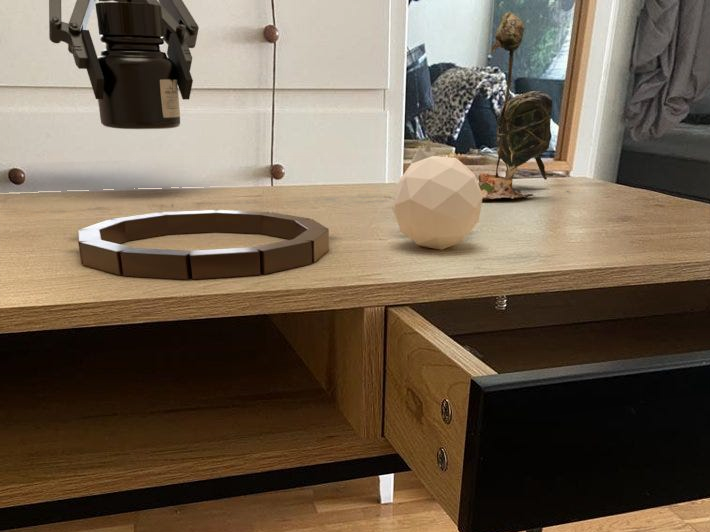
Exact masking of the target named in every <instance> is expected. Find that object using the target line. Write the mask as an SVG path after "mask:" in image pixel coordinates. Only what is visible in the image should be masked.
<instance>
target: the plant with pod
mask: <svg viewBox="0 0 710 532" xmlns="http://www.w3.org/2000/svg"><path fill="white" fill-rule="evenodd" d="M525 27H526V26H525V24H524V23H523V21H522V20H521V18H520V17H519V16H517V15H515V14H514V13H513V12H512V11H508V12H505V13H504V14H503V15H502V17H501V21H500V23H499V25H498V26H497V29H496V31H495V34H494V39H495V40H496V41H495V43H494V44H493V47H492V48H491V52H492V53H494V52H496V51H497V49H498V48H501V49H503V50H504V51H506V52H509V53H508V55H509V57H508V70H507V71H508V73H507V82H506V90H505V98H504V102H503V105H502V106H501V108H500V110H499V116H498V118H497V119H496V120H497V127H496V128H497V132H496V137H497V138H496V144H497V148H496V155H497V157H498V158H497V162H496V169H495V174H490V173H484V172H480V174H479V175H478V184H479V187H480V190H481V192H482V195H483V198H482V199H488V200H489V199H490V200H494V199H501V198H507V199H509V198H510V199H511V200H514V199H521V198H528V197H532V196H534V194H533V193H524V194H523V193H519V192H517V191H516V190H515V189H513V178H514V176H515V173H516V171H517V169H518V167H520V166H522V165H523V164H526V163H527V162H528V161H530V160H532V159H535V162H536V165H537V167H538V170H539V172H540V173H541V176H542V178H543V179H544V180H545V181H547V180H548V176H547V172H546V170H545V168H546V166H545V164H544V161H543V160H542V158H541V155H542V154H544V153H546V152H547V151H548V150H549V148H550V145H551V144H550V143H551V142H552V141H551V140H552V131H551V120H552V113H553V98H551V96H550V95H549V94H547V93H545V92H543V91H539V90H532V91H528V92H525V93H520V94H519V95H518V94H517V95H515V96H514V97H512V98H510V99H509V96H510V90H511V83H512V73H513V64H514V52H515V51H517V50H518V49H519V47H520V45H521V44H522V41H523V37H524V33H525V29H526V28H525ZM552 94H555V91H554V92H552ZM501 160H502V162H503V163H504V164H505V168H506V171H505V175H504V176H502V175H501V176H500V175H499V173H498V170H499V165H500V162H501Z"/></svg>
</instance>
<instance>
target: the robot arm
mask: <svg viewBox="0 0 710 532" xmlns="http://www.w3.org/2000/svg"><path fill="white" fill-rule="evenodd" d="M98 2H130V3H145V4H155V5H160V6H161V11H162V22H163V34H164V37H163V38H162V39H163V40H164V43H166V44H167V49H166V50H167V51H166V56H167V57H168V58H169V59H171V60H172V61H173V62H174V64H175V67H176V74H177V85H178V91H179V93H180V96H181V99H182V100H190V98H191V93H192V87H193V83H194V79H193V76H192V73H191V68H192V64H193V63H192V62H193V56H192V52H191V50H190V49H194V48H195V47H196V43H197V39H198V35H199V34H198V33H199V29H200V27H199V24H198V23H197V22H196V20H195V19H194V17H193V15H192V14H191V12H190V10H189V9H188V7H187V6H186V4H185V3H184V1H183V0H98ZM95 3H97V0H76V2H75V4H74V7H73V10H72V13H71V15H70V19H69V21H68V22H65V21H62V0H48V26H49V27H48V35H49V36H48V38H49V41H51V42H52V43H53V44H60V43H62V42H63V43H65V44H67V50H68V52H69V53H70V54H72V57H73V60H74V64H75V66H76V67H77V68H78V69H79V70H86V72H87V76H88V78H89V81H90V85H91V88H92V92H93V94H94V98H95V100H98V99H103V93H104V76H103V73H102V70H101V67H100V64H99V61H98V57H99V56H98V55H97V51H96V49H95V45H94V41H93V38H92V36H91V32H90V30H89V29H87V26H88V23H89V20H90V17H91V14H92V12H93V10H94V9H95V7H96V6H95Z"/></svg>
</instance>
